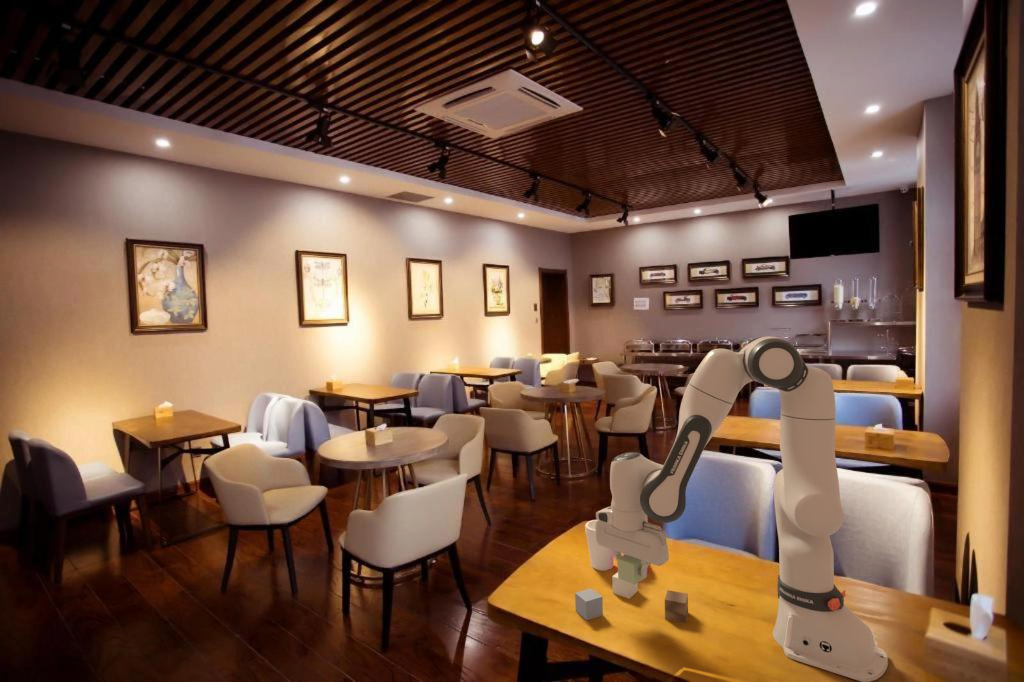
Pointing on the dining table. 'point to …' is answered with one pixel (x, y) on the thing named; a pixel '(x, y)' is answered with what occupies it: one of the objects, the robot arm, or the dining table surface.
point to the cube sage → (629, 569)
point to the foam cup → (598, 549)
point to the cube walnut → (676, 606)
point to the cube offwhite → (623, 587)
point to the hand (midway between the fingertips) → (632, 571)
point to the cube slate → (589, 604)
